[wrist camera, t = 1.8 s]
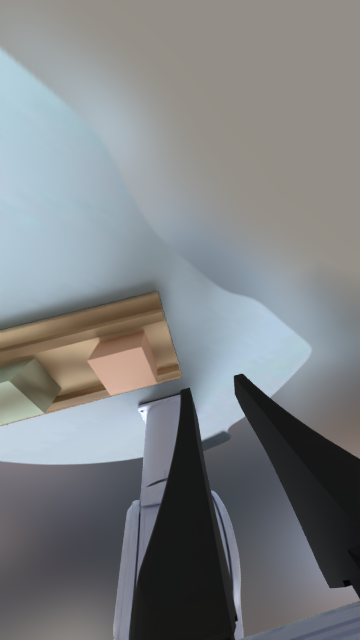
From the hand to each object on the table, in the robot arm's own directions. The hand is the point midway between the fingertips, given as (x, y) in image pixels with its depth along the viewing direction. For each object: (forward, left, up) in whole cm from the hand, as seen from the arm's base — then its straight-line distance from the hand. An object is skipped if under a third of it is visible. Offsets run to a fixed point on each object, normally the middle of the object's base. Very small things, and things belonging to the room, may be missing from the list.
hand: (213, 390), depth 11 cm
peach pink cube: (0, +8, -7) cm, 10 cm away
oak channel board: (0, +16, -8) cm, 18 cm away
